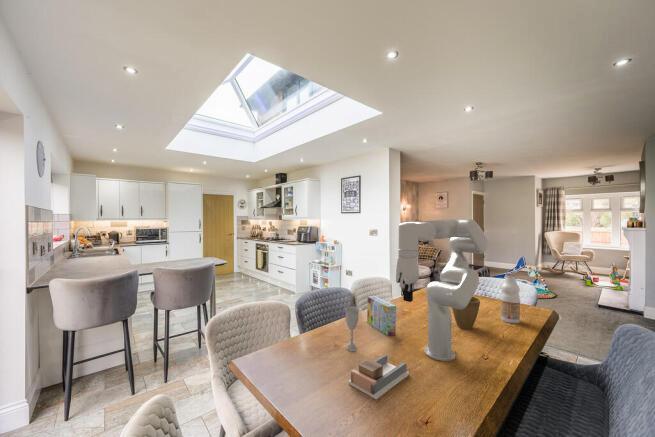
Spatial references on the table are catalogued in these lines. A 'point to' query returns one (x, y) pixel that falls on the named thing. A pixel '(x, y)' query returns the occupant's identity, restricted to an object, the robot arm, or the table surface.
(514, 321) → the white plastic bottle
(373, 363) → the walnut block
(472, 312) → the plant pot
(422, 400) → the table surface
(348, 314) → the chalice
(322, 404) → the table surface
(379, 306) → the snack box
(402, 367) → the chute
